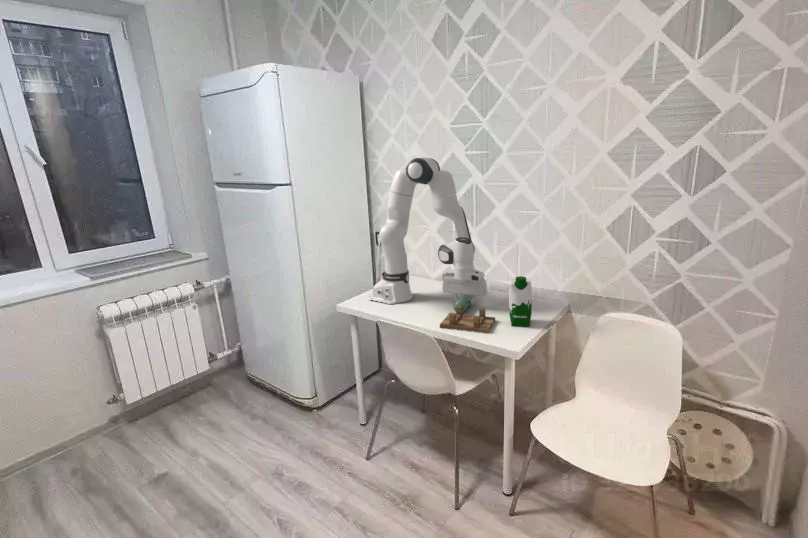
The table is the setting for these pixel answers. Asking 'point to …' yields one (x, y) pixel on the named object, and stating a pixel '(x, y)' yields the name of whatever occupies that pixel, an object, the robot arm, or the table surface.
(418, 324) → the table surface
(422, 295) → the table surface
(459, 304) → the bottle
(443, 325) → the cradle
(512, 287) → the milk carton
